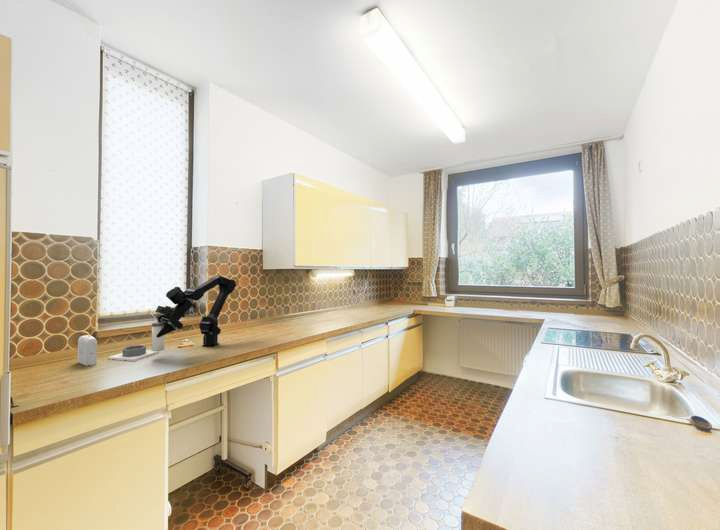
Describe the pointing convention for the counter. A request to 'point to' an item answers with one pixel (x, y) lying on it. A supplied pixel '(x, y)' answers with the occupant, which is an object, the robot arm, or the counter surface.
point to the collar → (133, 353)
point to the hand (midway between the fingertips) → (154, 336)
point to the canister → (156, 342)
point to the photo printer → (87, 350)
